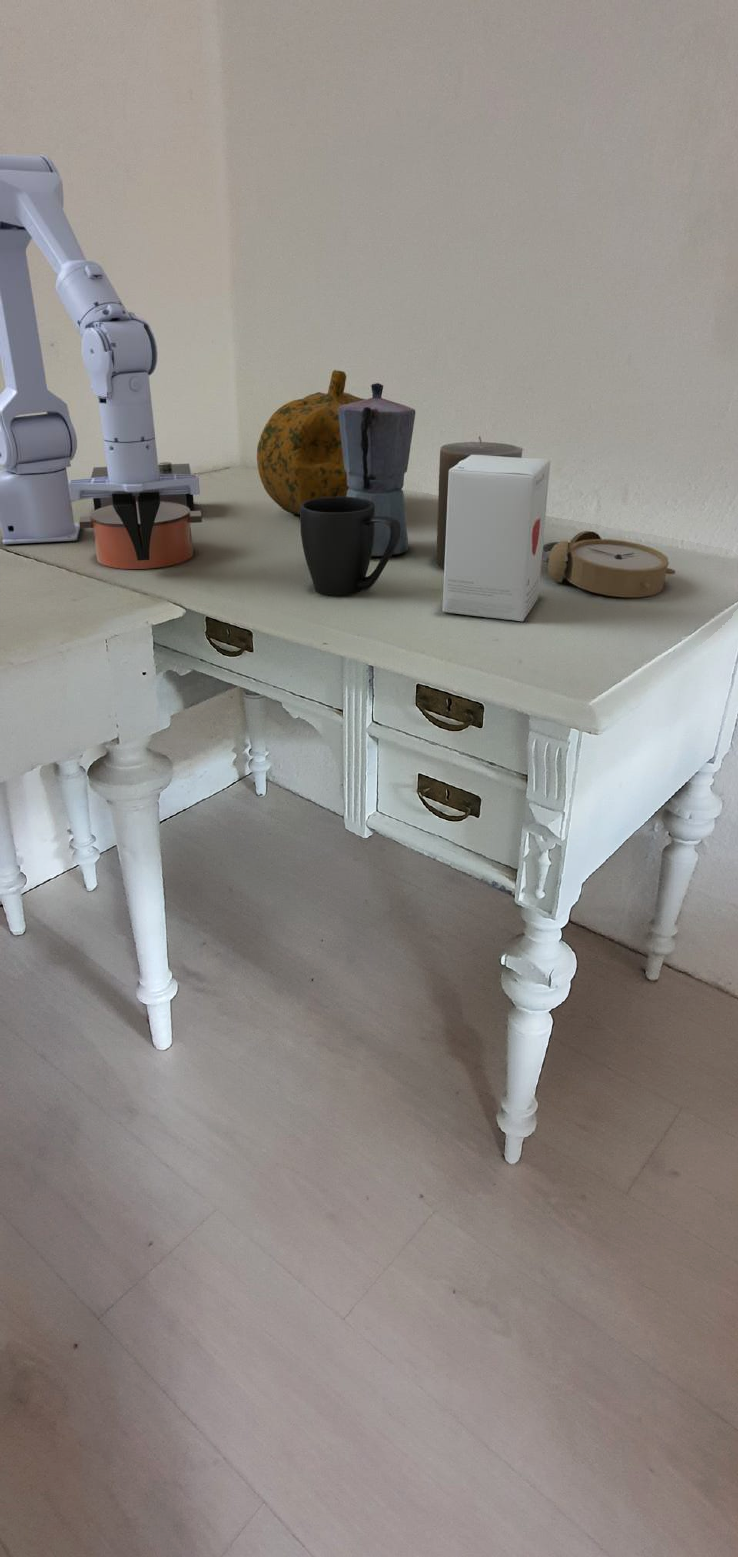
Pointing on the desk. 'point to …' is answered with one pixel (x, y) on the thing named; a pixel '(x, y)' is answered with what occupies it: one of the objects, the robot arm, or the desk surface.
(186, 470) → the appliance
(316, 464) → the decorative pumpkin
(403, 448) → the moka pot
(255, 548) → the desk surface
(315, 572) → the mug
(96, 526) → the saucepan
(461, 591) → the rectangular carton
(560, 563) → the alarm clock
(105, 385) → the robot arm
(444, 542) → the pillar candle
